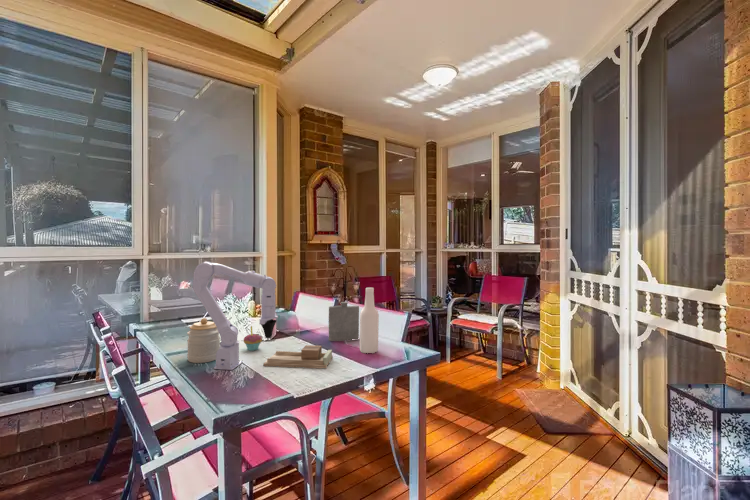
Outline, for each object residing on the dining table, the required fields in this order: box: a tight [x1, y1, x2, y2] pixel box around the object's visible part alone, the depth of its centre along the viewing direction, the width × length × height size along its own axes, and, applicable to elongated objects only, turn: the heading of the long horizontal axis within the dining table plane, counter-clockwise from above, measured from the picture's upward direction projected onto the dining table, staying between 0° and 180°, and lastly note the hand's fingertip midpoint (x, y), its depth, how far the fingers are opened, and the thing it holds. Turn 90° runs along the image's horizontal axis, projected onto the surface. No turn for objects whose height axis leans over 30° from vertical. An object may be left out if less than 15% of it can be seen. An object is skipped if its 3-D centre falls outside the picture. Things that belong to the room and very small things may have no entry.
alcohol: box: [359, 286, 380, 355], centre depth 174 cm, size 9×9×30 cm
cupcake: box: [243, 325, 263, 352], centre depth 174 cm, size 9×8×12 cm
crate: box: [300, 344, 323, 360], centre depth 157 cm, size 7×7×5 cm
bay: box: [262, 349, 333, 369], centre depth 157 cm, size 14×26×4 cm, turn 85°
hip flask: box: [328, 301, 360, 342], centre depth 193 cm, size 16×4×20 cm, turn 103°
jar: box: [186, 317, 221, 364], centre depth 160 cm, size 13×13×18 cm
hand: (268, 337), depth 156 cm, fingers closed
